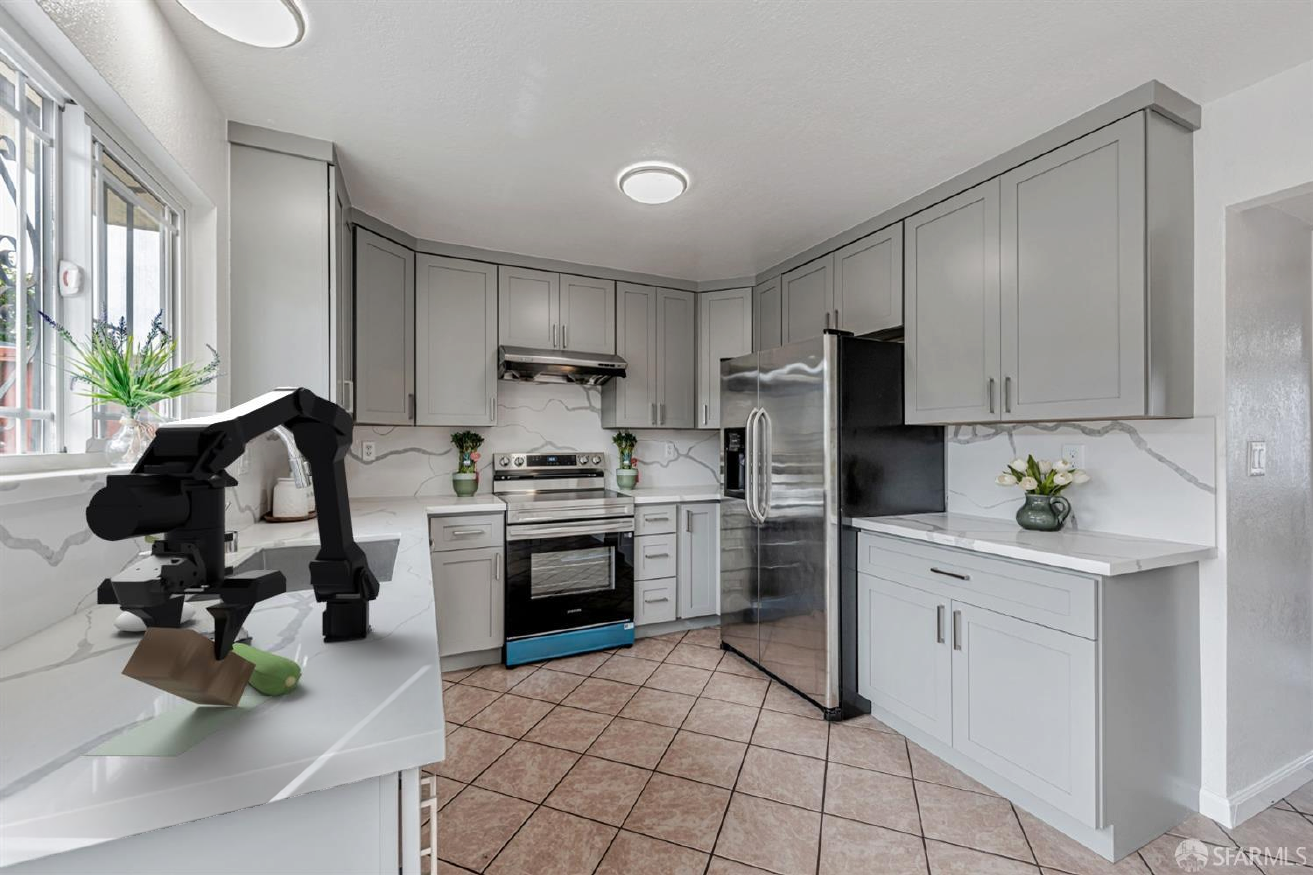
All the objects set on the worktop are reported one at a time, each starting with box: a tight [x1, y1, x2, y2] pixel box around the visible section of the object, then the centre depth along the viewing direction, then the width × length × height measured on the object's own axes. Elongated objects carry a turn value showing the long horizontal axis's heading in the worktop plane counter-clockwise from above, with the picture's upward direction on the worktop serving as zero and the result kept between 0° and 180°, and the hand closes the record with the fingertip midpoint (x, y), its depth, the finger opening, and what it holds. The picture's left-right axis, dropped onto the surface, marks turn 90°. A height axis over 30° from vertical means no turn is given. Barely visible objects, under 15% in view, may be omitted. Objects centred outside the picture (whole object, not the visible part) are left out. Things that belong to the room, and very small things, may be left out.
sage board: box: [83, 695, 274, 757], centre depth 68 cm, size 14×10×1 cm
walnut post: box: [120, 627, 256, 706], centre depth 68 cm, size 5×5×13 cm
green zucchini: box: [232, 643, 303, 697], centre depth 81 cm, size 5×20×5 cm
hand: (194, 659), depth 69 cm, fingers open, 6 cm apart
